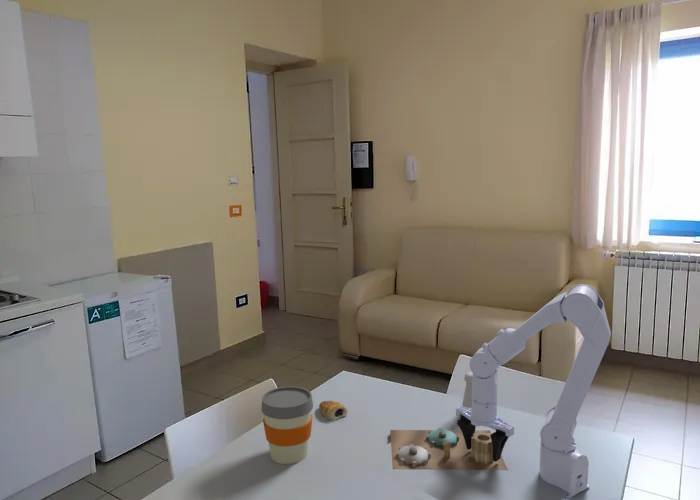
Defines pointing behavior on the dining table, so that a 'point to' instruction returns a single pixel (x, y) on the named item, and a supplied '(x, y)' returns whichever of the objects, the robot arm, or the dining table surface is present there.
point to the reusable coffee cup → (287, 422)
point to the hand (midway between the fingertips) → (483, 453)
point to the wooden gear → (482, 448)
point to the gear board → (436, 451)
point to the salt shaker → (468, 390)
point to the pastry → (332, 410)
